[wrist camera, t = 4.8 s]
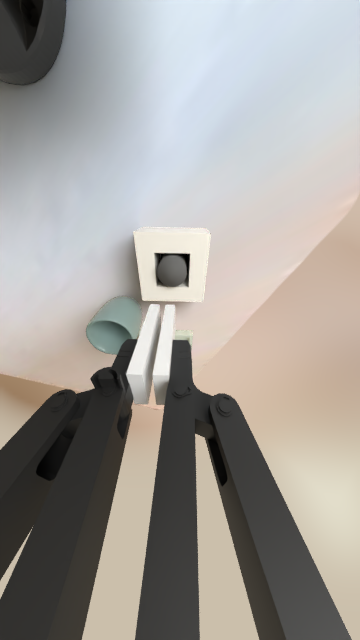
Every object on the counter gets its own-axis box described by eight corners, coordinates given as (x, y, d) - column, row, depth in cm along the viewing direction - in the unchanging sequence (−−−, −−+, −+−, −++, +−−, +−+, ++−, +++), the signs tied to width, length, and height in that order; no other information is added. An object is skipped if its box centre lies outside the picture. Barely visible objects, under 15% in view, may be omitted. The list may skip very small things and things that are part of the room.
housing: (142, 226, 26) (133, 231, 21) (205, 228, 25) (210, 233, 21) (148, 285, 31) (142, 300, 26) (200, 287, 31) (203, 302, 26)
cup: (115, 322, 37) (95, 355, 29) (103, 291, 32) (76, 320, 24) (149, 321, 36) (138, 354, 28) (142, 289, 32) (127, 318, 24)
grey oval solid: (161, 247, 27) (156, 257, 22) (186, 248, 27) (187, 258, 22) (162, 272, 29) (158, 286, 24) (185, 273, 29) (186, 287, 24)
